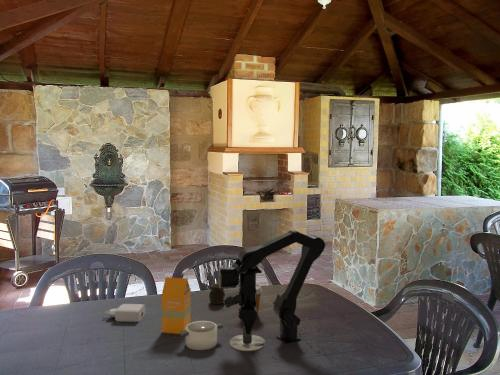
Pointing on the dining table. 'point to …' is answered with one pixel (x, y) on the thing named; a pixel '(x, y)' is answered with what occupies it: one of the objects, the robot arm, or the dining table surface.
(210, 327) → the pot
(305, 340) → the dining table surface
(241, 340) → the lid
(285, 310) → the robot arm
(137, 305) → the charger
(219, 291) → the mate gourd
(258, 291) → the disposable coffee cup
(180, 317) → the orange juice
